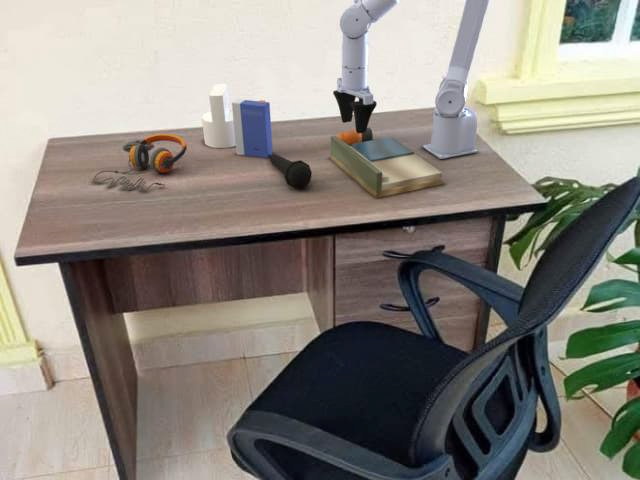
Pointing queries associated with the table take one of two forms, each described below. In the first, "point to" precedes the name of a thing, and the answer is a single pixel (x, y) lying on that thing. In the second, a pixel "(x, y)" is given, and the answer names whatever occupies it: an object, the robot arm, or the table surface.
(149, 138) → the headphones
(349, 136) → the orange capsule container
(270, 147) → the walkman
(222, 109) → the base with upright slab
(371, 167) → the bed
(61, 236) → the table surface
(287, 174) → the microphone
